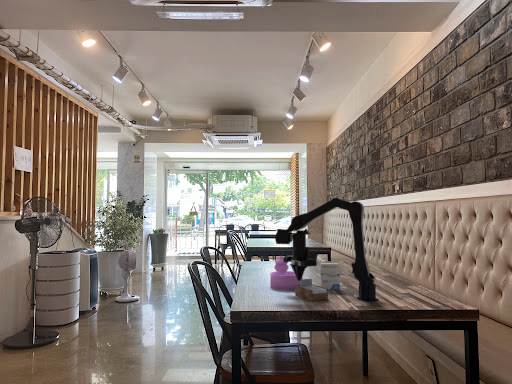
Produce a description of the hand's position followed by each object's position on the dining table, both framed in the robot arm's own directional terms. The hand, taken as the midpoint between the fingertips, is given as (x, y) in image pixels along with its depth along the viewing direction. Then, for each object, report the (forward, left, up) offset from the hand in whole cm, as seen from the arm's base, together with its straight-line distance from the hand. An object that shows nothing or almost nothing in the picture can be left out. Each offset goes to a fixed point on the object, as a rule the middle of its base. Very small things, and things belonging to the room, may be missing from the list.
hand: (299, 280), depth 164 cm
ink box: (+4, -19, -6) cm, 20 cm away
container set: (+22, -5, -6) cm, 23 cm away
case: (-9, 0, -6) cm, 11 cm away
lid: (-10, 0, -3) cm, 10 cm away
